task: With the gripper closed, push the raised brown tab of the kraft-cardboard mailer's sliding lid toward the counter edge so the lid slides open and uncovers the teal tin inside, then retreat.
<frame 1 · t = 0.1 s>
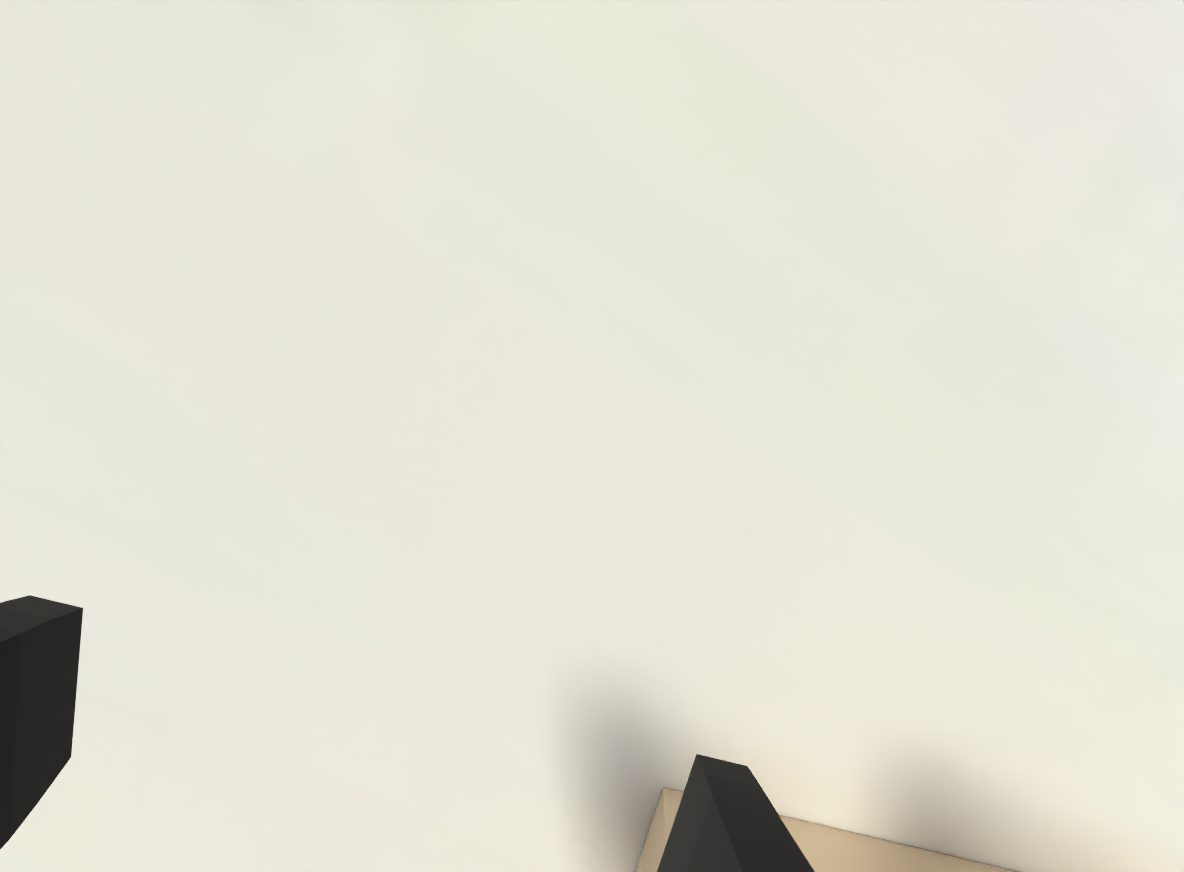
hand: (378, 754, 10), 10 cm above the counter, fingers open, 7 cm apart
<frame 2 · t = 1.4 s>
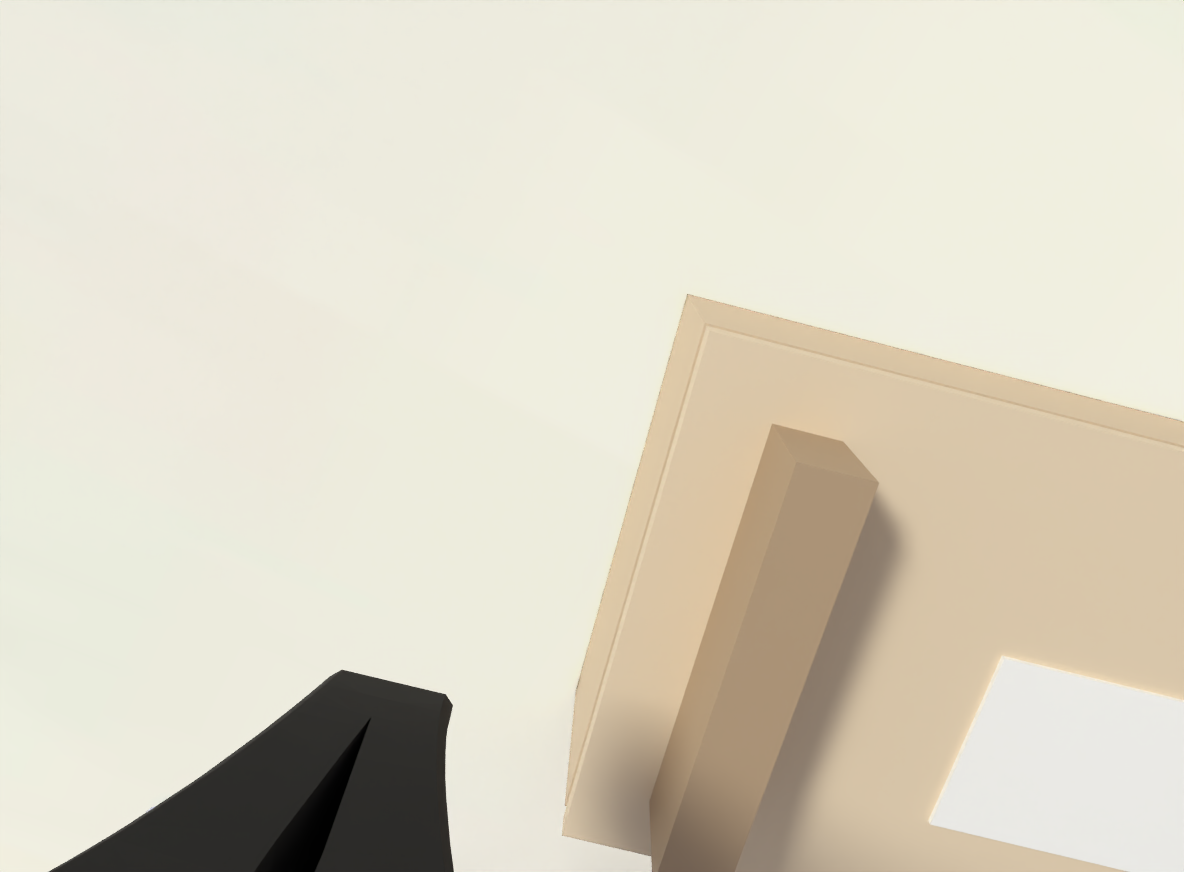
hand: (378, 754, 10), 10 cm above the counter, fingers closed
lid: (1031, 726, 14), point 6 cm above the counter, slide at 0.0 cm
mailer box: (919, 579, 19), on the counter
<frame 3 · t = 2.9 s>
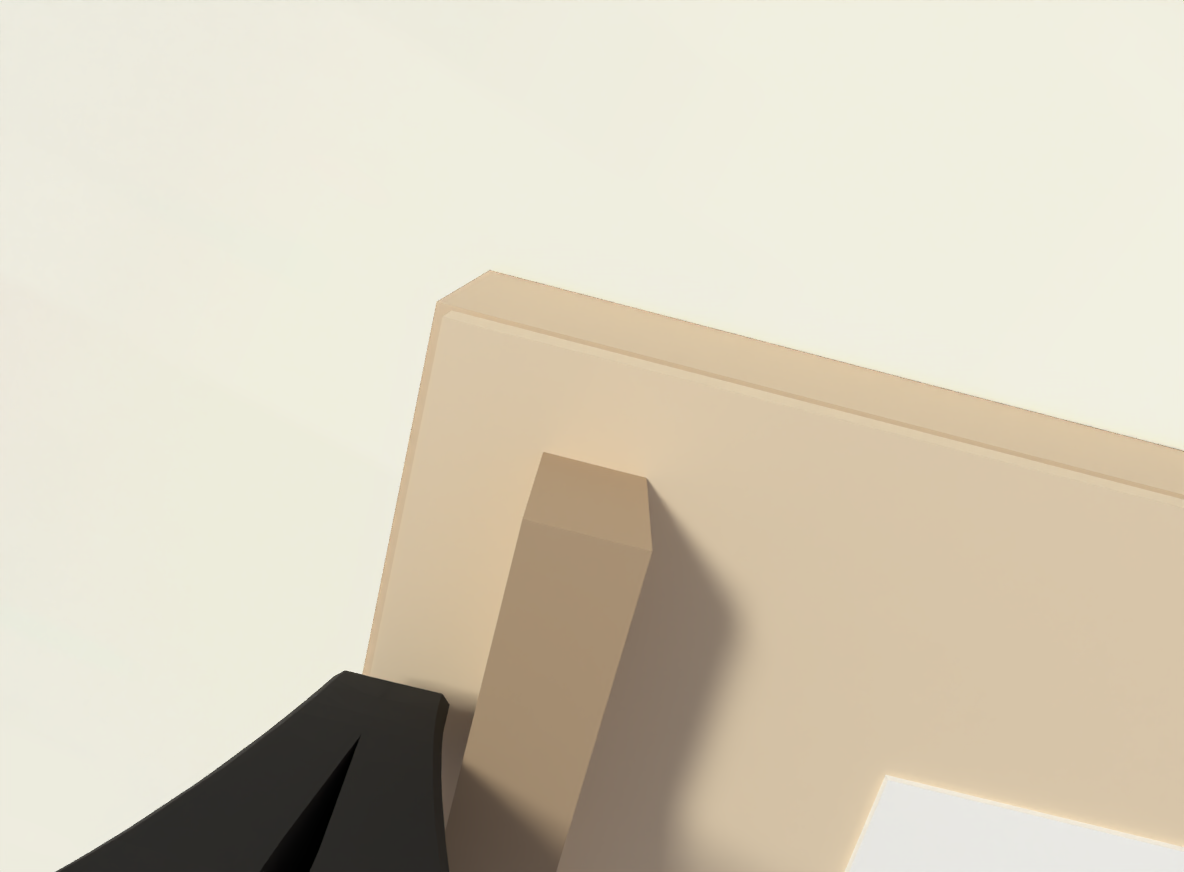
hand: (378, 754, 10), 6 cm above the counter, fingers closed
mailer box: (805, 637, 15), on the counter
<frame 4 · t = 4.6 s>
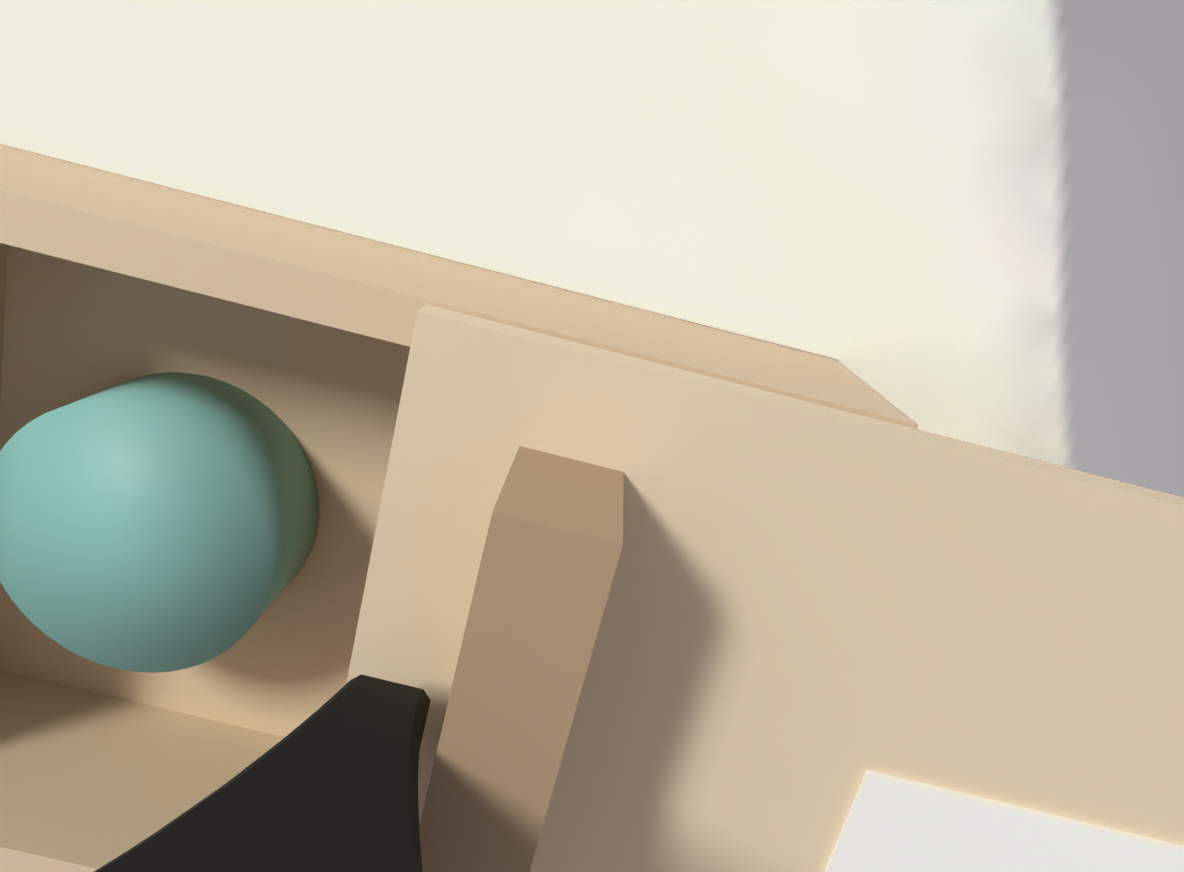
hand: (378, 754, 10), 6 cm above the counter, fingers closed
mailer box: (369, 529, 15), on the counter
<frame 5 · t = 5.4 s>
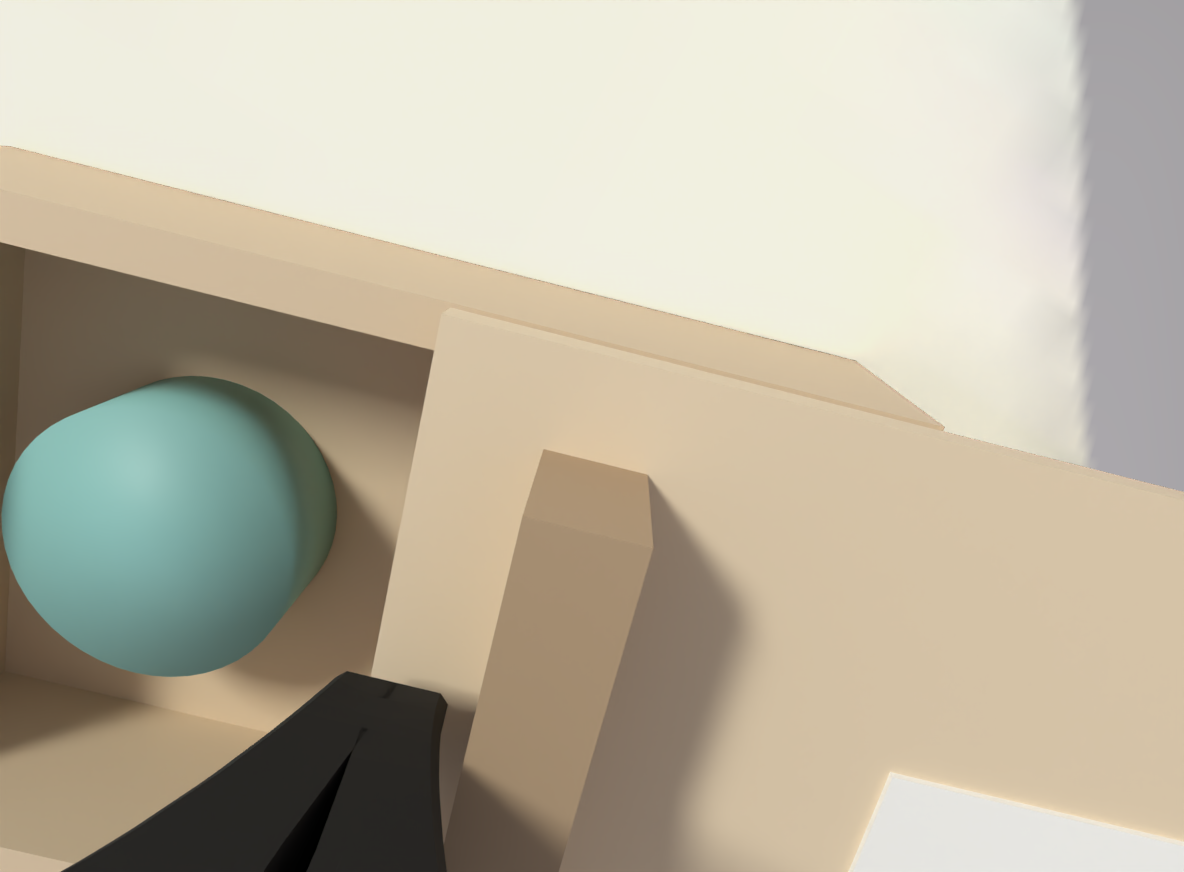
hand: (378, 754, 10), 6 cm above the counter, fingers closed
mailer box: (386, 532, 15), on the counter
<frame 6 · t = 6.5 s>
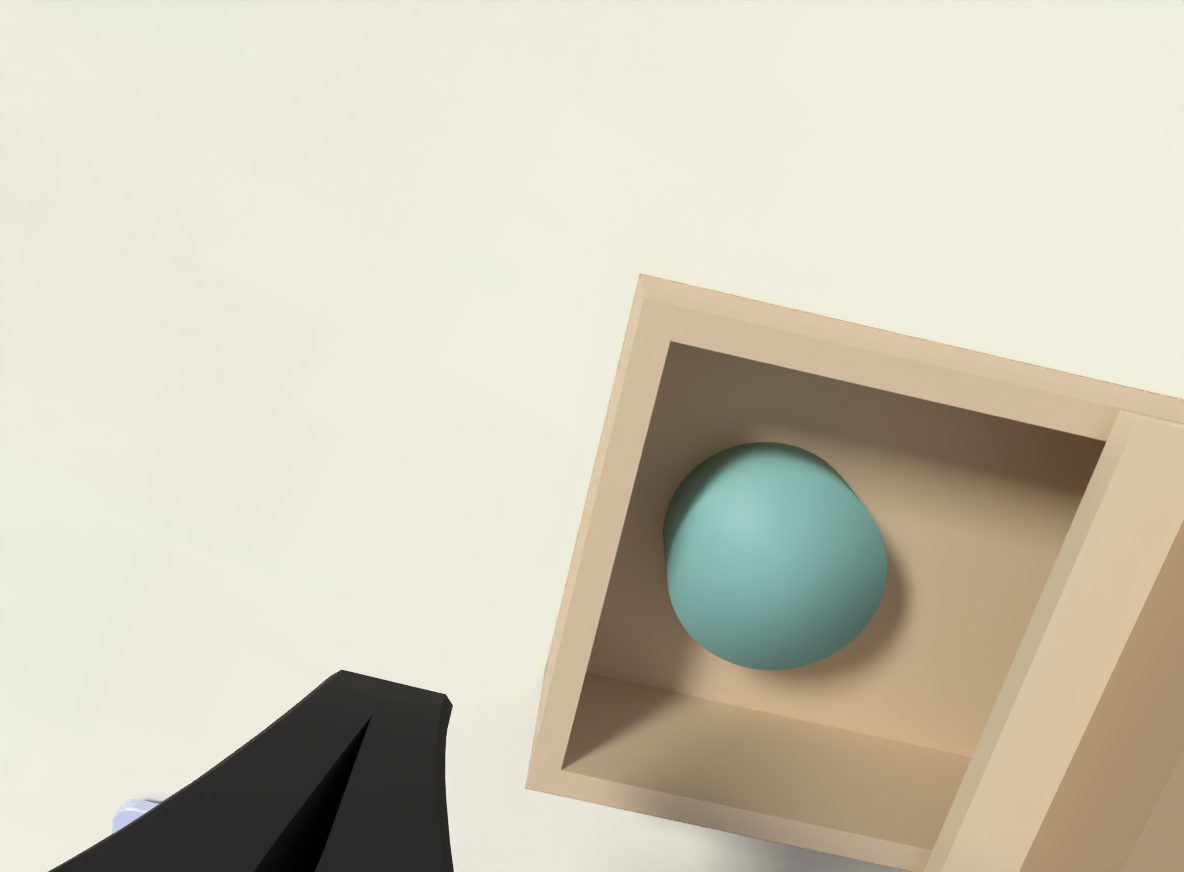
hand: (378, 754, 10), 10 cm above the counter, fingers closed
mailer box: (884, 556, 19), on the counter
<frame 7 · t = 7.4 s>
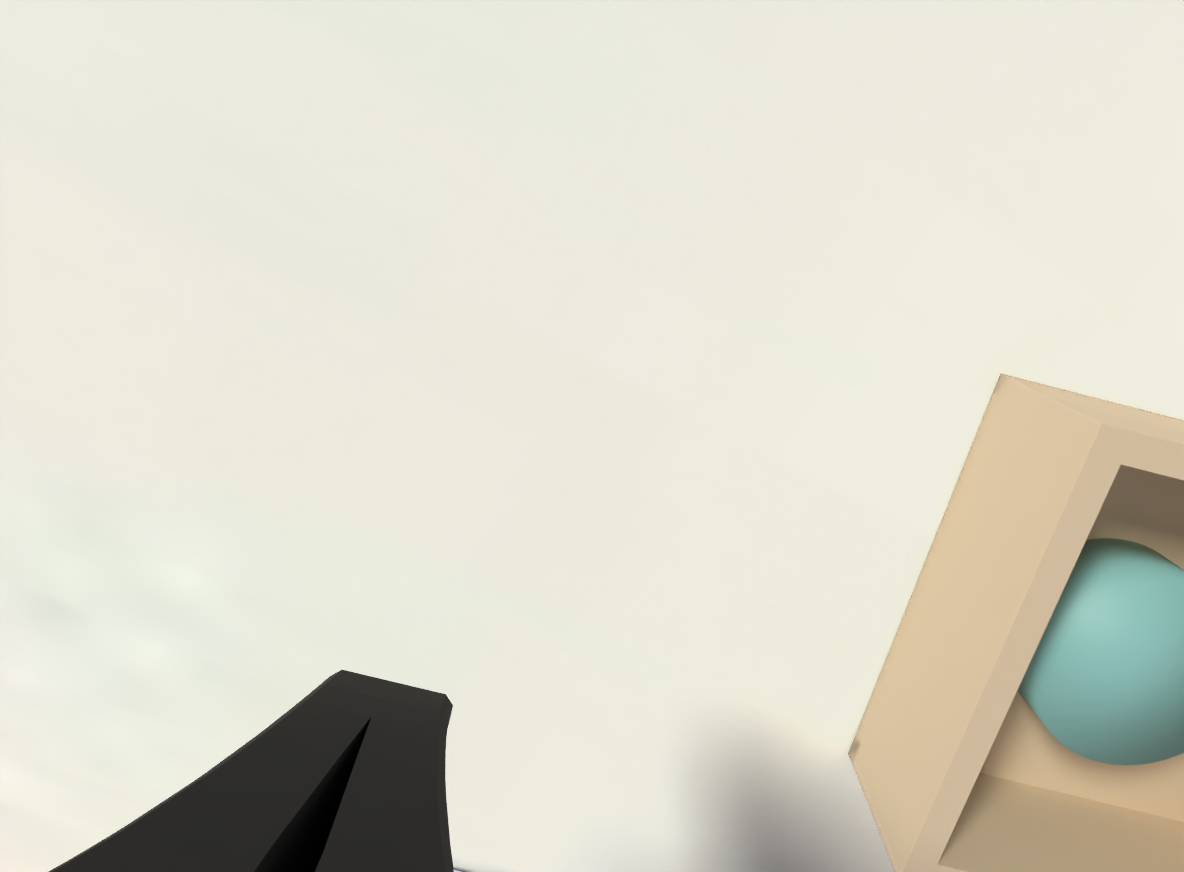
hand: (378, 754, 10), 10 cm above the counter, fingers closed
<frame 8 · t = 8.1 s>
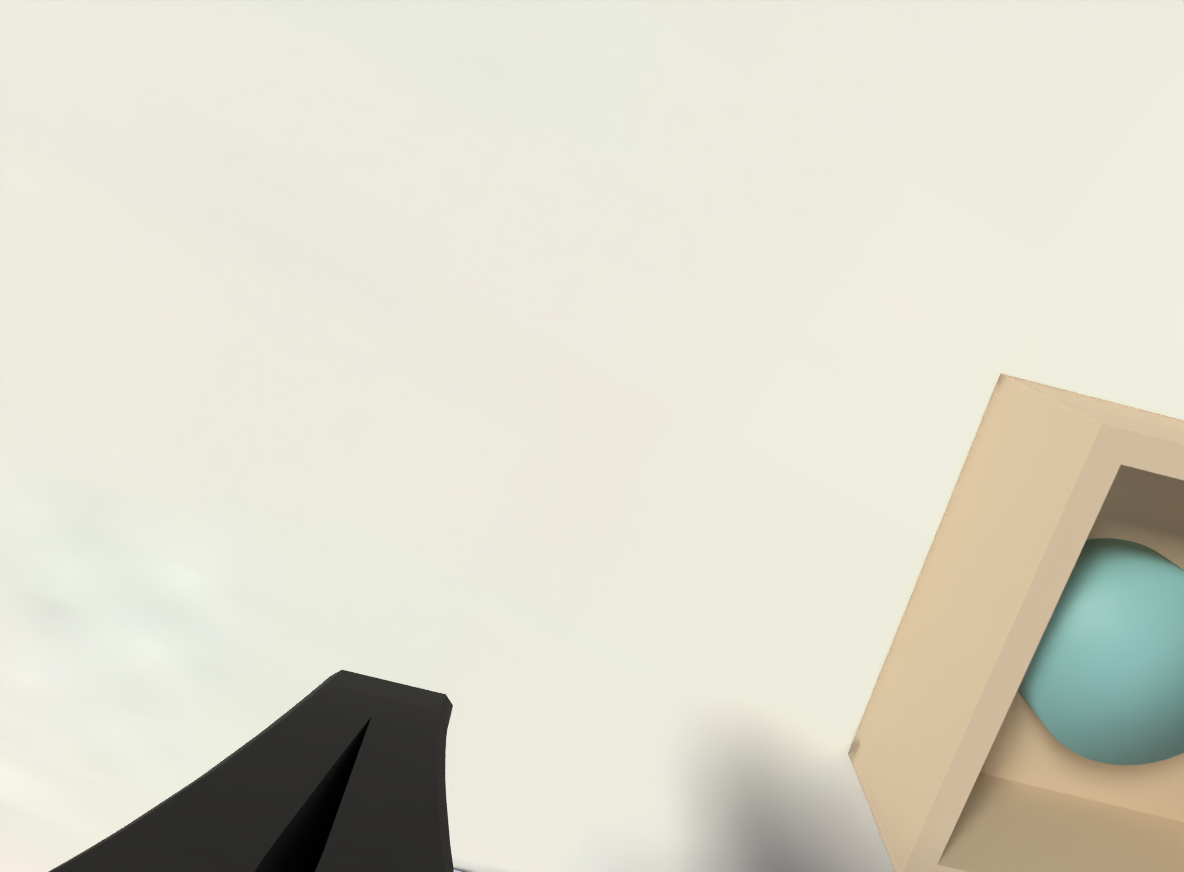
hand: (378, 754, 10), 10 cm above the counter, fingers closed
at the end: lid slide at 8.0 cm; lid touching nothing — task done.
